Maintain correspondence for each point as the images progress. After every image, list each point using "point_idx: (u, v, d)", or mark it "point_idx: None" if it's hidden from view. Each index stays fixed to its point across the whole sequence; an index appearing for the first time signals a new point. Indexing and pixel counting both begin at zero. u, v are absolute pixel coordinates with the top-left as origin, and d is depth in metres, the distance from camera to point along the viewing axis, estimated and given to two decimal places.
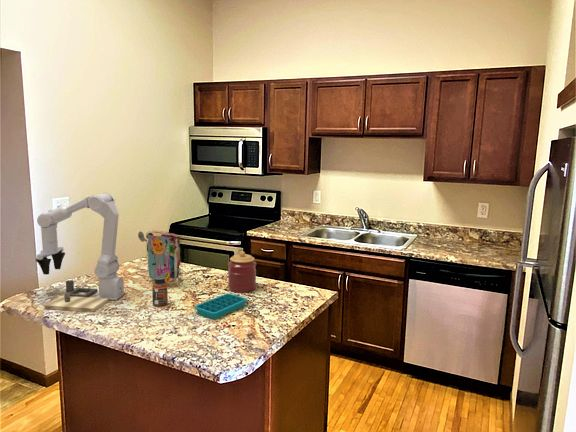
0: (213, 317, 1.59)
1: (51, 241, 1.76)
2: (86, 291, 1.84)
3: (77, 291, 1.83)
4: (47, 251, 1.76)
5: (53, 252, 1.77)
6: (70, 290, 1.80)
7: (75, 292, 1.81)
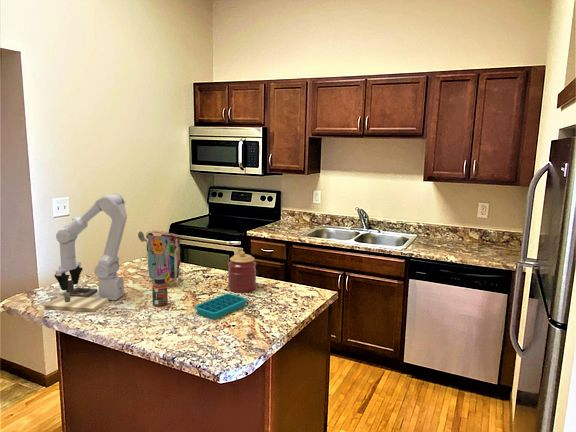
0: (213, 317, 1.59)
1: (69, 257, 1.77)
2: (86, 291, 1.84)
3: (77, 291, 1.83)
4: (65, 267, 1.77)
5: (71, 268, 1.78)
6: (70, 290, 1.80)
7: (75, 292, 1.81)
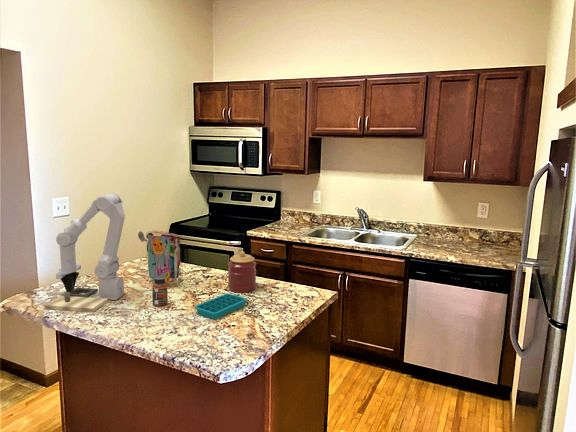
0: (213, 317, 1.59)
1: (70, 260, 1.77)
2: (86, 291, 1.84)
3: (77, 291, 1.83)
4: (66, 270, 1.77)
5: (72, 271, 1.78)
6: None
7: (75, 292, 1.81)
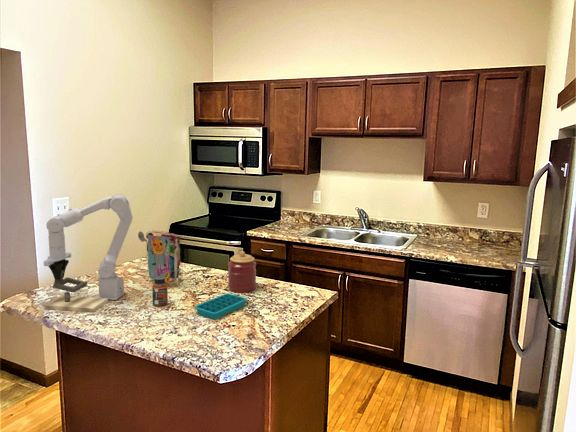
0: (214, 317, 1.59)
1: (58, 247, 1.68)
2: (75, 283, 1.75)
3: (66, 281, 1.74)
4: (54, 257, 1.68)
5: (60, 258, 1.69)
6: (59, 280, 1.72)
7: (63, 282, 1.73)
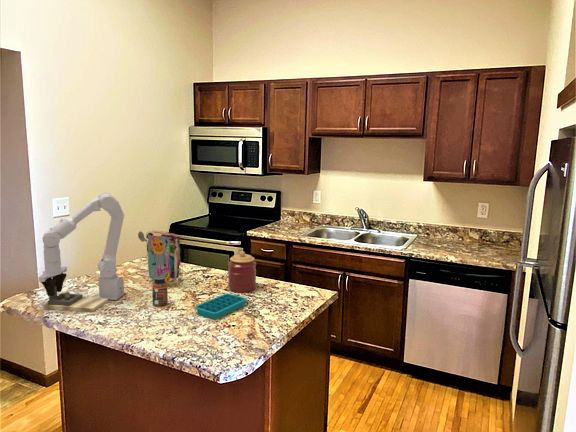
0: (214, 317, 1.59)
1: (54, 262, 1.65)
2: (70, 297, 1.72)
3: (61, 297, 1.71)
4: (50, 272, 1.65)
5: (56, 273, 1.66)
6: (53, 296, 1.69)
7: (58, 298, 1.70)
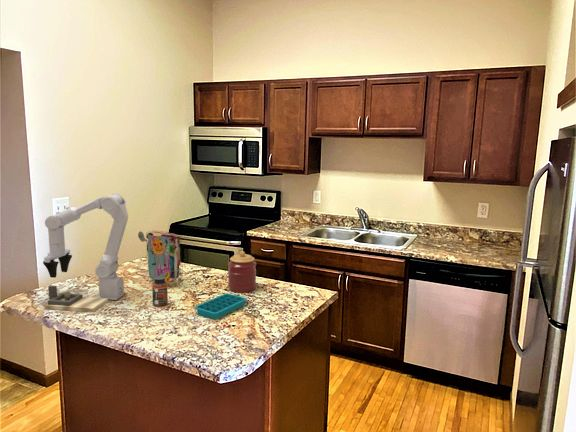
0: (214, 317, 1.59)
1: (58, 244, 1.73)
2: (70, 297, 1.72)
3: (61, 297, 1.71)
4: (54, 254, 1.73)
5: (60, 255, 1.74)
6: (53, 296, 1.69)
7: (58, 298, 1.70)
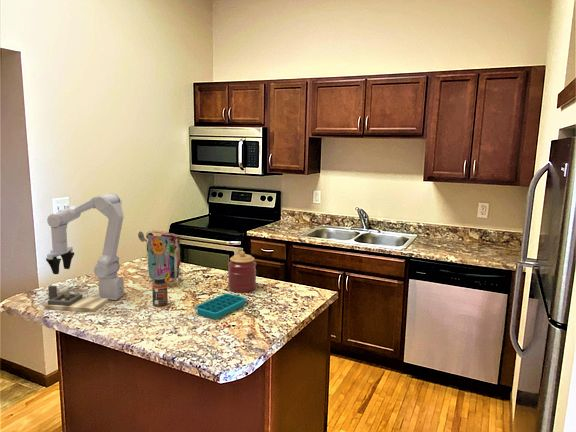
0: (214, 317, 1.59)
1: (61, 241, 1.78)
2: (70, 297, 1.72)
3: (61, 297, 1.71)
4: (57, 251, 1.78)
5: (63, 252, 1.79)
6: (53, 296, 1.69)
7: (58, 298, 1.70)
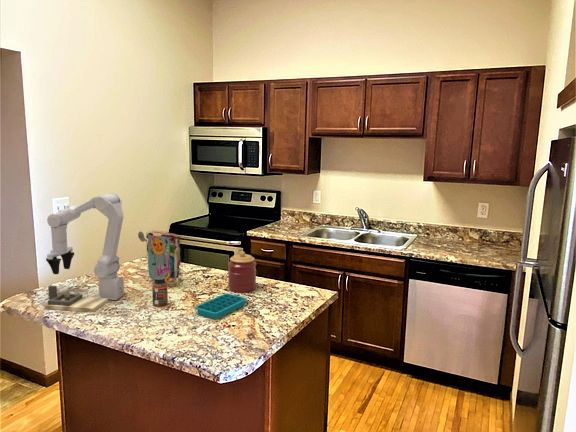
0: (214, 317, 1.59)
1: (61, 241, 1.78)
2: (70, 297, 1.72)
3: (61, 297, 1.71)
4: (57, 251, 1.78)
5: (63, 252, 1.79)
6: (53, 296, 1.69)
7: (58, 298, 1.70)
